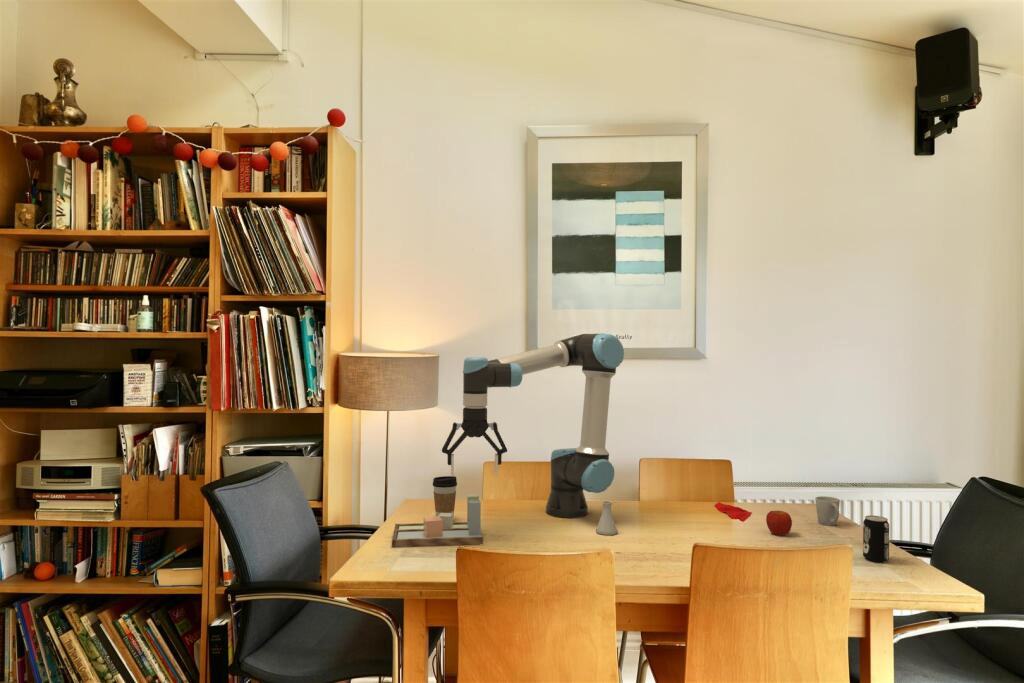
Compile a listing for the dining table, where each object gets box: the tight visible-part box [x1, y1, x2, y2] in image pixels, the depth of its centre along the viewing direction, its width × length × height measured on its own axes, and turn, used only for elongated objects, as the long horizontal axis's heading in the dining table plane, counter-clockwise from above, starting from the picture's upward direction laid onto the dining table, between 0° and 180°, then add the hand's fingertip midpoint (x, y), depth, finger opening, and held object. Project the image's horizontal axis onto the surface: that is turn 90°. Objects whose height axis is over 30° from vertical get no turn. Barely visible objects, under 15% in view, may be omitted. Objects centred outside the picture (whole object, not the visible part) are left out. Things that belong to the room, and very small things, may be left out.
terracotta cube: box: [423, 515, 443, 538], centre depth 209 cm, size 5×5×5 cm
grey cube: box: [438, 513, 454, 528], centre depth 218 cm, size 4×4×4 cm
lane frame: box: [391, 521, 484, 549], centre depth 213 cm, size 27×18×2 cm, turn 97°
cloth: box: [714, 501, 753, 522], centre depth 247 cm, size 26×14×2 cm, turn 170°
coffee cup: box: [432, 475, 458, 519], centre depth 233 cm, size 8×8×15 cm
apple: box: [765, 510, 793, 536], centre depth 219 cm, size 8×8×8 cm
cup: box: [815, 495, 841, 527], centre depth 231 cm, size 8×10×8 cm
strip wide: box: [397, 499, 483, 539], centre depth 210 cm, size 26×8×12 cm, turn 97°
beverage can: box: [862, 514, 890, 564], centre depth 194 cm, size 7×7×12 cm
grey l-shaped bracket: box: [399, 493, 480, 530], centre depth 218 cm, size 26×5×12 cm, turn 97°
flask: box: [595, 500, 619, 536], centre depth 220 cm, size 7×7×10 cm
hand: (474, 475), depth 211 cm, fingers open, 13 cm apart
